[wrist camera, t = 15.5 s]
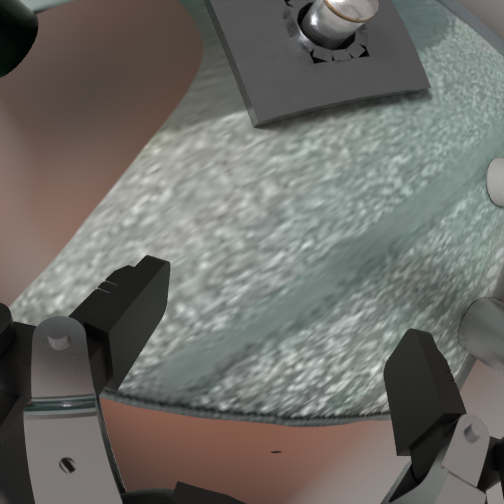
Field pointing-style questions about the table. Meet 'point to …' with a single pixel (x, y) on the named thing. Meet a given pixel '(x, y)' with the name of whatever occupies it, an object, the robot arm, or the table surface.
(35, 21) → the dark wine bottle
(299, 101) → the plate
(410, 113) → the table surface
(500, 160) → the can
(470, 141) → the table surface
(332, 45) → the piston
